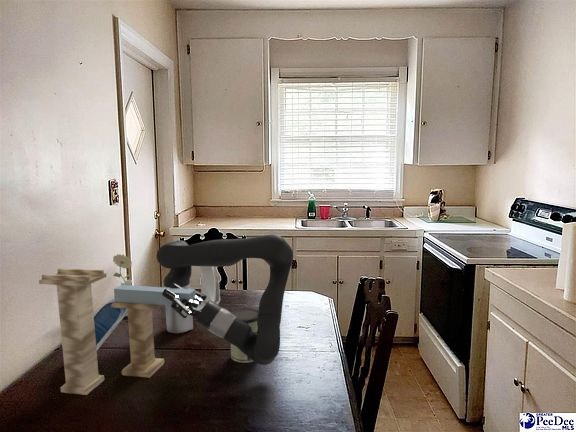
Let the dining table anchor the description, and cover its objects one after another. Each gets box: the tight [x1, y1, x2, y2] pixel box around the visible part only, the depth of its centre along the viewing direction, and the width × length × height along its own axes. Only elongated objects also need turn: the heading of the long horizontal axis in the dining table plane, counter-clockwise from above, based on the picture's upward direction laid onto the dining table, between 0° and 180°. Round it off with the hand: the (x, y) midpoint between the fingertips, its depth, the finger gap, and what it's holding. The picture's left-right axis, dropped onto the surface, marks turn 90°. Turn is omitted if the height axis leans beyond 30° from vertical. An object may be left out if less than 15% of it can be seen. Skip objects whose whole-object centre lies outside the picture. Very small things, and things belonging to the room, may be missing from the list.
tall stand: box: [38, 267, 108, 396], centre depth 121 cm, size 14×9×33 cm, turn 78°
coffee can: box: [230, 308, 258, 364], centre depth 140 cm, size 10×10×14 cm
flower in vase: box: [112, 253, 133, 317], centre depth 179 cm, size 13×11×25 cm
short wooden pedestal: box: [111, 302, 165, 379], centre depth 131 cm, size 14×9×22 cm, turn 78°
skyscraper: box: [199, 266, 222, 305], centre depth 189 cm, size 8×8×28 cm
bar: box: [113, 284, 197, 306], centre depth 128 cm, size 24×4×4 cm, turn 79°
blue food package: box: [94, 298, 127, 351], centre depth 139 cm, size 6×12×25 cm
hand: (168, 288), depth 127 cm, fingers open, 4 cm apart
